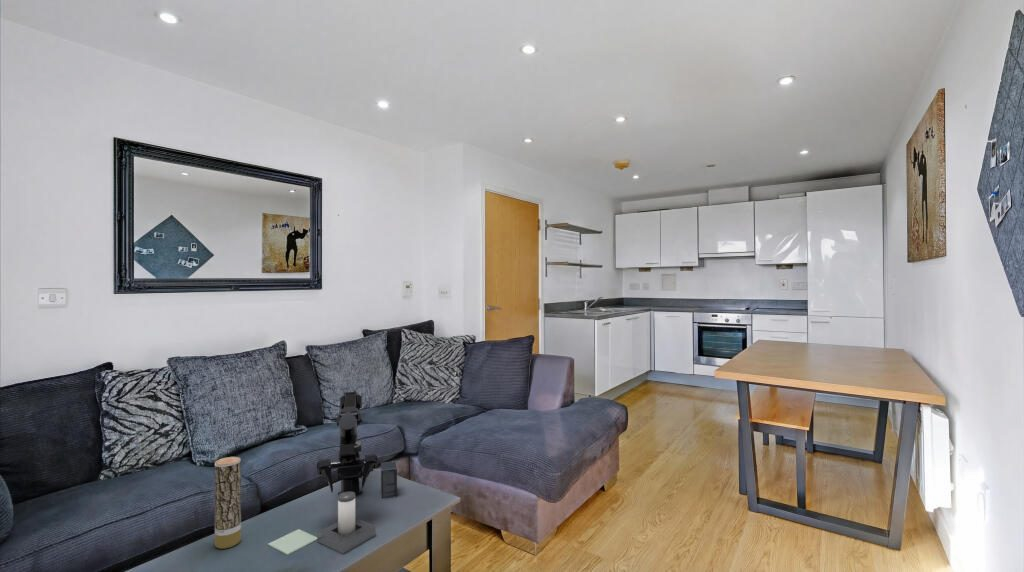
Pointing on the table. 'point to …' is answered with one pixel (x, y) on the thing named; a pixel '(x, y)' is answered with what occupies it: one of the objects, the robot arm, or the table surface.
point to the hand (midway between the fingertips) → (347, 490)
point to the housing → (348, 542)
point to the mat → (293, 542)
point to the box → (388, 479)
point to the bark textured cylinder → (227, 502)
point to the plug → (346, 513)
